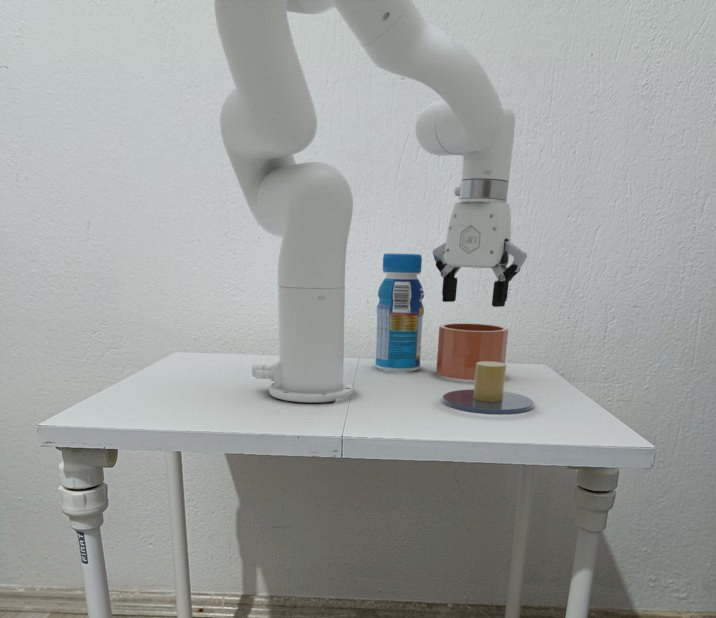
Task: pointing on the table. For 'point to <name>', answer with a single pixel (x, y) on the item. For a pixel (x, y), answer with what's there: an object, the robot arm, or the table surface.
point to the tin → (469, 348)
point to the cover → (488, 393)
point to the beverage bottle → (400, 314)
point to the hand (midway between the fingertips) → (472, 303)
